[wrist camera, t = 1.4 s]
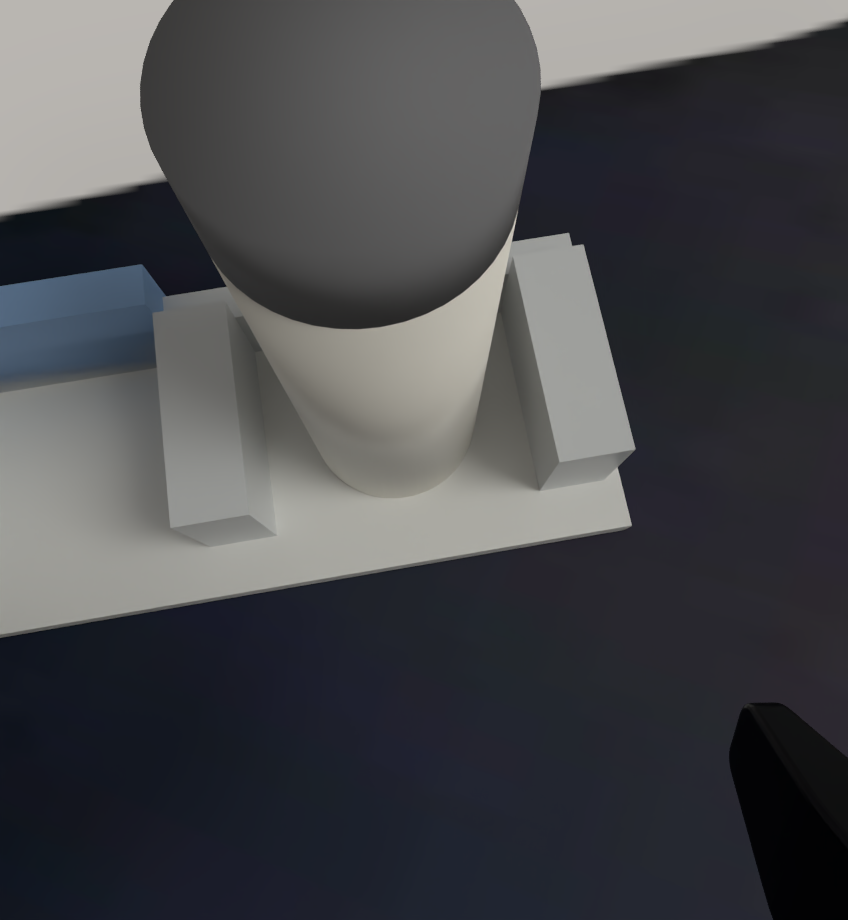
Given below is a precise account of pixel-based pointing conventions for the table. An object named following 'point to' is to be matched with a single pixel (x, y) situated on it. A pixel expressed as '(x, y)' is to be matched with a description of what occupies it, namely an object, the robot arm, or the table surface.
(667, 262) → the table surface
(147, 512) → the white slotted stand
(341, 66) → the white capped cylinder
